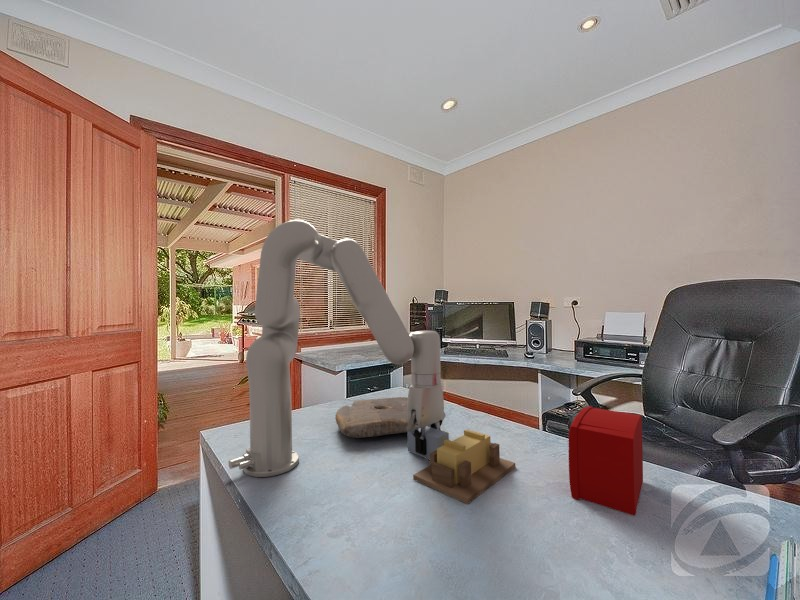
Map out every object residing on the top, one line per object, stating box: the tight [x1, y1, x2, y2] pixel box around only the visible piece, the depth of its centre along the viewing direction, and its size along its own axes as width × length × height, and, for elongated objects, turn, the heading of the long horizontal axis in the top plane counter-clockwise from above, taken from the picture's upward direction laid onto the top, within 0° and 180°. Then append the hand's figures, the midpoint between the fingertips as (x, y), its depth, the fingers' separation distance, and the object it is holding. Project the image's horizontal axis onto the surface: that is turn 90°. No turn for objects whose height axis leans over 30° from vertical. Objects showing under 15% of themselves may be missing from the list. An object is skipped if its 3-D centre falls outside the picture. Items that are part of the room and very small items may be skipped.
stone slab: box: [335, 396, 429, 439], centre depth 111 cm, size 31×29×6 cm
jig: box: [412, 442, 516, 505], centre depth 78 cm, size 20×14×6 cm
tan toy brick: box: [437, 429, 491, 485], centre depth 79 cm, size 14×5×7 cm, turn 136°
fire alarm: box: [568, 405, 644, 517], centre depth 71 cm, size 16×11×15 cm
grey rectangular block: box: [406, 426, 450, 460], centre depth 89 cm, size 4×10×6 cm, turn 46°
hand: (427, 449), depth 89 cm, fingers closed on grey rectangular block, 4 cm apart
